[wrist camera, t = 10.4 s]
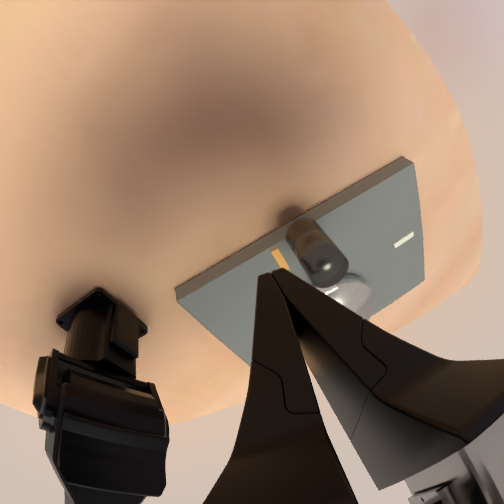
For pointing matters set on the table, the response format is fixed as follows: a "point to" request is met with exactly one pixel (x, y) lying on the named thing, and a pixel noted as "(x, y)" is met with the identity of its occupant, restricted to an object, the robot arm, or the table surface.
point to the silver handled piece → (329, 267)
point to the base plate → (345, 238)
